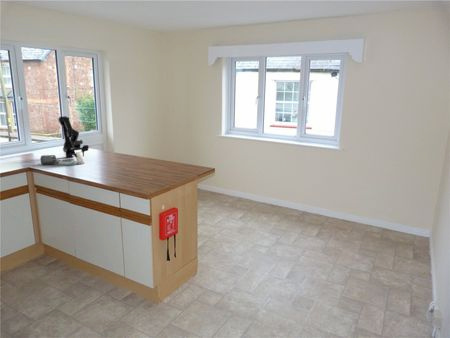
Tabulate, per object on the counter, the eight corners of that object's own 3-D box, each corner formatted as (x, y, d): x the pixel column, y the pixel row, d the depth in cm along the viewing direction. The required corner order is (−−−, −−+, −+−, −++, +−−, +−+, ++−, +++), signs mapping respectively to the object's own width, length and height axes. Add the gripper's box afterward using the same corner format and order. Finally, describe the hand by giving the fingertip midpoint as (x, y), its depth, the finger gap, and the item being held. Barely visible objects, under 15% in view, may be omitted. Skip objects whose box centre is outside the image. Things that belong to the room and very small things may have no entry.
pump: (77, 163, 299) (76, 152, 296) (85, 162, 300) (83, 151, 297) (75, 164, 293) (74, 153, 290) (83, 164, 294) (81, 153, 291)
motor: (45, 162, 300) (44, 154, 298) (76, 161, 303) (74, 153, 301) (40, 166, 288) (39, 157, 286) (71, 165, 292) (70, 156, 290)
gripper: (64, 138, 288) (69, 152, 282) (86, 136, 299) (92, 150, 293) (63, 146, 295) (68, 160, 290) (85, 143, 307) (90, 157, 301)
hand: (80, 156), depth 293 cm, fingers closed on pump, 5 cm apart
